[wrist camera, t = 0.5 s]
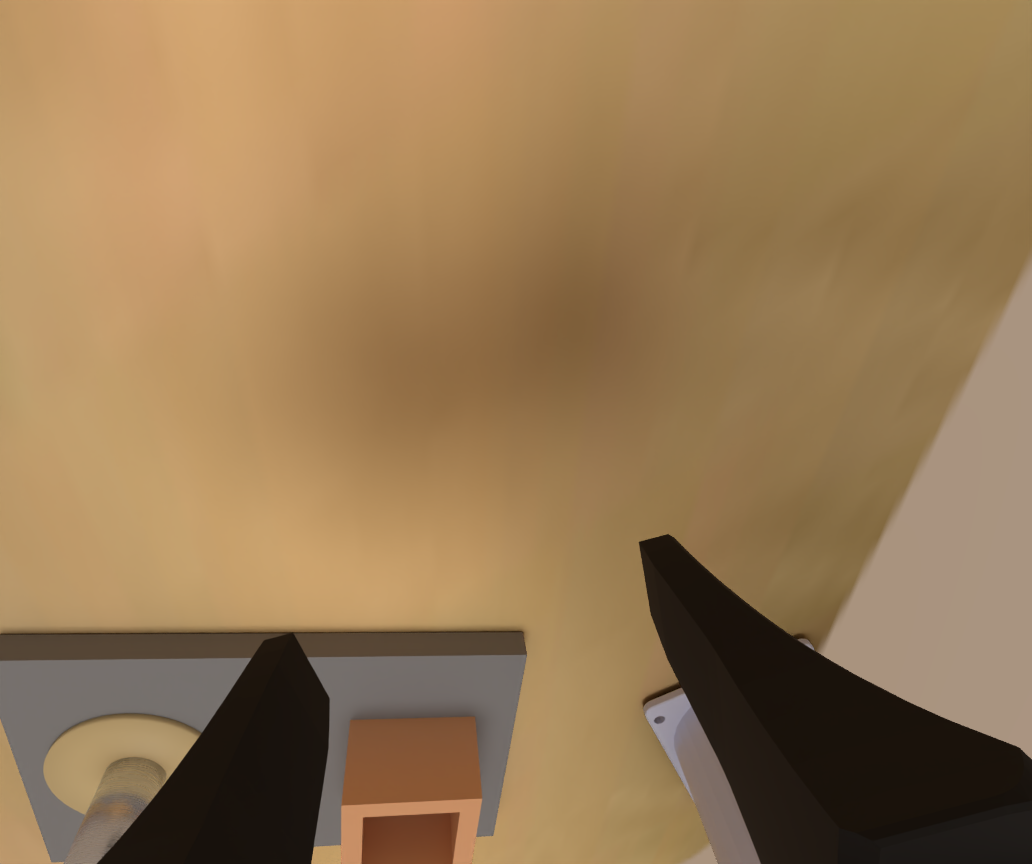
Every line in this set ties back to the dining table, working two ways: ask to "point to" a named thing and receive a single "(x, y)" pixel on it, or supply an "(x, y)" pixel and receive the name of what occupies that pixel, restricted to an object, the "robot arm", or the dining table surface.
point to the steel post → (115, 807)
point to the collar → (411, 791)
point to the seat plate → (205, 684)
